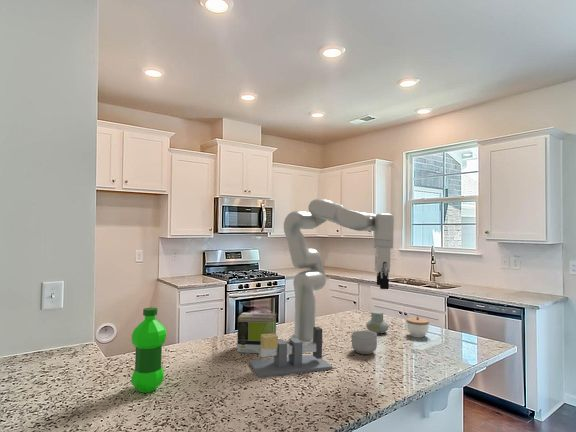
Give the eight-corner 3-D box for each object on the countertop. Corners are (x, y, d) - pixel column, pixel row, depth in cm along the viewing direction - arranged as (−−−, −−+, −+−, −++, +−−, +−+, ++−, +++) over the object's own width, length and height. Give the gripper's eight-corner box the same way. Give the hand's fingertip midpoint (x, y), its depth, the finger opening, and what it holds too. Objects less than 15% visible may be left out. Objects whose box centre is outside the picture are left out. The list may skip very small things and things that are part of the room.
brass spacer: (260, 345, 141) (260, 334, 141) (273, 344, 143) (273, 333, 143) (264, 349, 136) (264, 337, 136) (277, 348, 138) (277, 336, 138)
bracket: (249, 363, 144) (249, 338, 144) (316, 356, 153) (317, 333, 154) (258, 377, 131) (259, 349, 131) (332, 369, 140) (332, 343, 141)
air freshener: (390, 332, 194) (390, 312, 194) (385, 335, 187) (385, 315, 187) (369, 328, 199) (369, 309, 200) (363, 332, 192) (364, 312, 193)
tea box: (275, 347, 165) (276, 312, 165) (272, 354, 155) (273, 318, 155) (241, 345, 166) (242, 311, 167) (236, 352, 156) (237, 316, 157)
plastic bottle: (152, 379, 127) (155, 304, 128) (171, 388, 120) (173, 309, 121) (123, 389, 119) (126, 308, 120) (141, 399, 112) (144, 314, 113)
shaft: (257, 360, 140) (258, 330, 140) (317, 354, 148) (318, 326, 148) (260, 364, 136) (261, 333, 137) (321, 358, 144) (322, 329, 145)
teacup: (370, 358, 153) (370, 338, 154) (346, 352, 160) (346, 333, 160) (383, 350, 164) (384, 331, 165) (361, 344, 171) (361, 326, 171)
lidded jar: (406, 337, 185) (406, 318, 185) (405, 331, 195) (406, 313, 195) (429, 339, 181) (429, 320, 182) (428, 334, 192) (428, 315, 192)
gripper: (371, 243, 162) (370, 283, 162) (376, 245, 145) (375, 290, 144) (389, 243, 161) (388, 284, 161) (397, 245, 144) (395, 291, 144)
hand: (382, 287), depth 153 cm, fingers open, 9 cm apart
